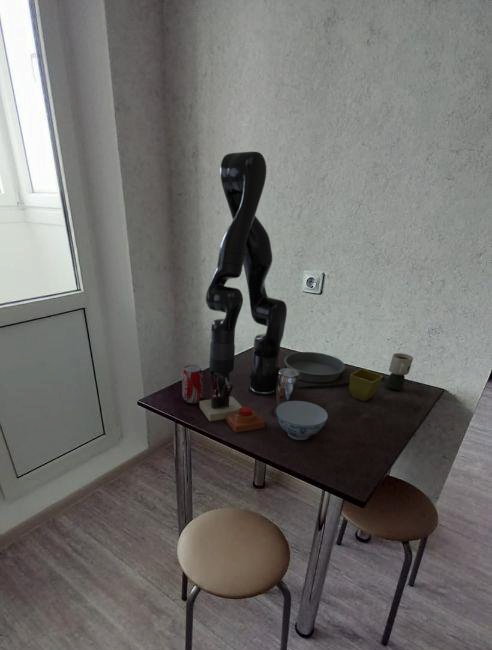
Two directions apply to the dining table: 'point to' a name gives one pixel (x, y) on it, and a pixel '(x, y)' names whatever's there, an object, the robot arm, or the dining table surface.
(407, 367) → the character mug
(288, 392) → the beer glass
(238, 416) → the housing
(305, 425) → the chinaware
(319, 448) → the dining table surface
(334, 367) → the cake pan
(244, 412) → the button
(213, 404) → the oven dial
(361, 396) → the flower pot
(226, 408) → the panel
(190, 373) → the soda can
